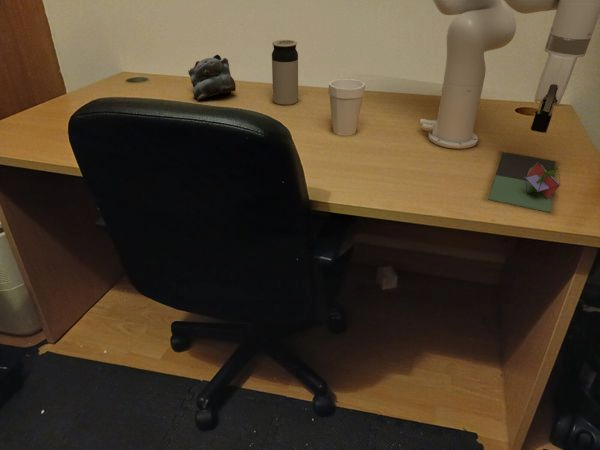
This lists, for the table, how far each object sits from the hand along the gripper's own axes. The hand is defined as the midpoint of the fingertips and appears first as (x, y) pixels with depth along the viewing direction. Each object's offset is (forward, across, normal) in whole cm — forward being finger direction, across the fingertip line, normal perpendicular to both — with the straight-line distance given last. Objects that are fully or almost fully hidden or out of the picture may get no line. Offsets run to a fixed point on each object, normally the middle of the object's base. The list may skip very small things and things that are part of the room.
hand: (538, 130), depth 106 cm
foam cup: (+12, -4, -47) cm, 48 cm away
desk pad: (+10, +5, 0) cm, 11 cm away
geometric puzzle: (+10, +12, +4) cm, 16 cm away
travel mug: (+13, -18, -73) cm, 76 cm away
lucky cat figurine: (+14, -12, -97) cm, 99 cm away
